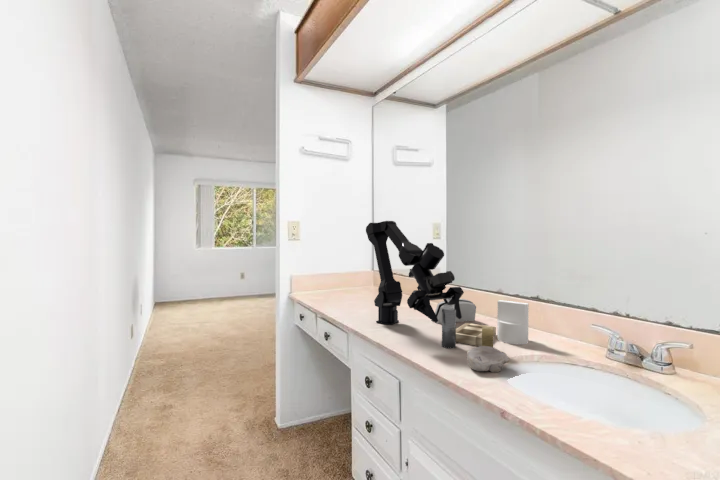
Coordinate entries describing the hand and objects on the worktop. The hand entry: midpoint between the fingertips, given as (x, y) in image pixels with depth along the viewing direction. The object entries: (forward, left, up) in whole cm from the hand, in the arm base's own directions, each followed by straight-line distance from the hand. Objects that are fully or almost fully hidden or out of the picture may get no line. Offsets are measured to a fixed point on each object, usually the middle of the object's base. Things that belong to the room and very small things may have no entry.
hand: (449, 320), depth 108 cm
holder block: (+3, +14, -8) cm, 16 cm away
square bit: (+11, +1, -8) cm, 14 cm away
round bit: (0, 0, -8) cm, 8 cm away
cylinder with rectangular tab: (+14, +18, -8) cm, 24 cm away
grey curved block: (-10, +31, -8) cm, 34 cm away
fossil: (+14, -11, -8) cm, 20 cm away
